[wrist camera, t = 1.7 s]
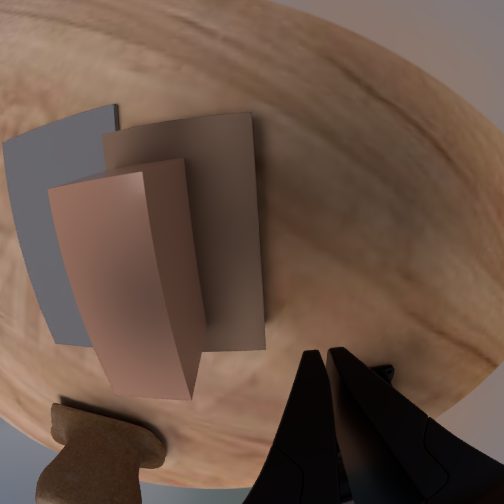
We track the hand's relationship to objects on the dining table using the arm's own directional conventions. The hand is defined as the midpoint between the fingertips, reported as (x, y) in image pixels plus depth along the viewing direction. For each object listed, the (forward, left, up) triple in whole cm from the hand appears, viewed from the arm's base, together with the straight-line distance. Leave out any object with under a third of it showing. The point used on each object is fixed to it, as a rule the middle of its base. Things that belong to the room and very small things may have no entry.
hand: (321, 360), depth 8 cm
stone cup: (+20, +22, -12) cm, 32 cm away
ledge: (+5, 0, -12) cm, 13 cm away
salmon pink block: (+7, 0, -9) cm, 11 cm away
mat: (+15, 0, -12) cm, 19 cm away
